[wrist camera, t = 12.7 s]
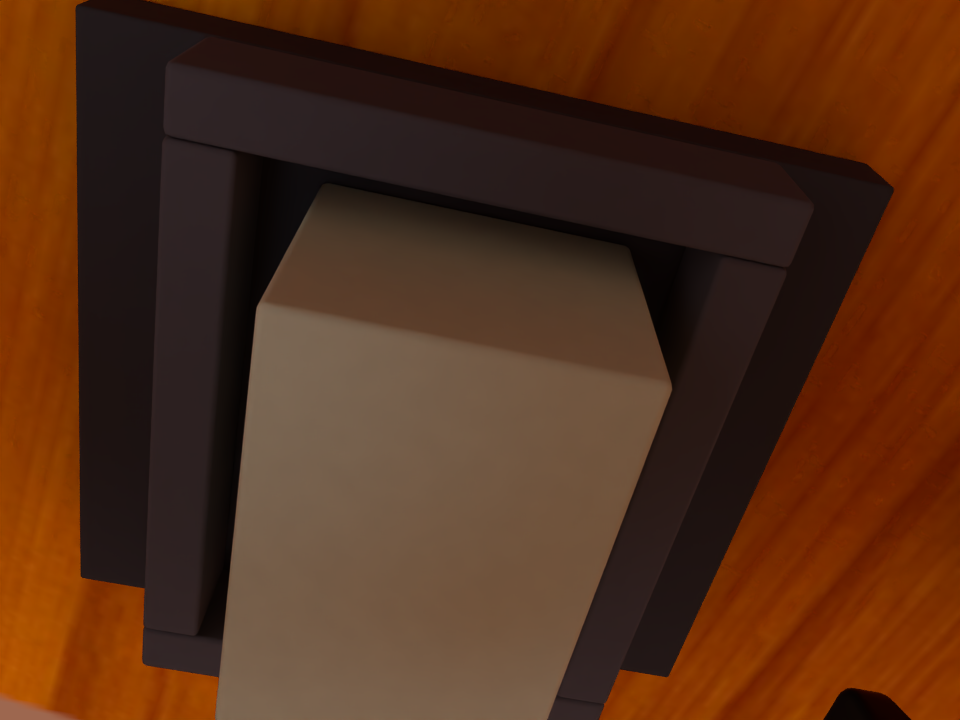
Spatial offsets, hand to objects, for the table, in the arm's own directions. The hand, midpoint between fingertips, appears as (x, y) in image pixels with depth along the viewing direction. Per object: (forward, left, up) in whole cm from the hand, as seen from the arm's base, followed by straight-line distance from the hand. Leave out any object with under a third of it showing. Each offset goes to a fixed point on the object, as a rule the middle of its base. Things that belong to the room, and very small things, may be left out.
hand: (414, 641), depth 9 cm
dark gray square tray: (0, 0, -5) cm, 5 cm away
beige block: (0, 0, -4) cm, 4 cm away
